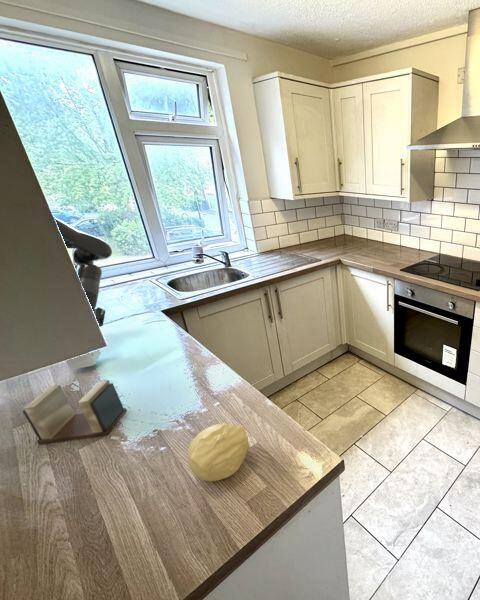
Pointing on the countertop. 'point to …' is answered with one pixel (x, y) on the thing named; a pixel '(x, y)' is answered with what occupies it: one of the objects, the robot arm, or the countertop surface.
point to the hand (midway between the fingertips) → (72, 340)
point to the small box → (84, 360)
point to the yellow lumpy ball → (218, 451)
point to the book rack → (65, 423)
